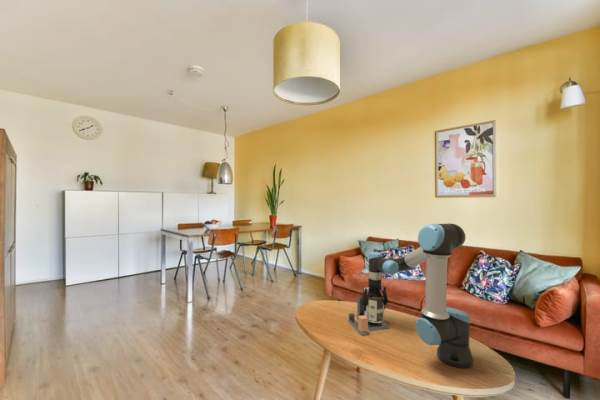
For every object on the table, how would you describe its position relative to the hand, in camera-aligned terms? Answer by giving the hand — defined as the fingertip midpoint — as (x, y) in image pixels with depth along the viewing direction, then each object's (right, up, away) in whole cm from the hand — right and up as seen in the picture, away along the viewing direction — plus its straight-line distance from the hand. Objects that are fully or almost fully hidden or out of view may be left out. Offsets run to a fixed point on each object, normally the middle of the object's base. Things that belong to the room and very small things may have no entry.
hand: (374, 315), depth 166 cm
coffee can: (0, -2, 0) cm, 2 cm away
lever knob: (-9, -4, -11) cm, 14 cm away
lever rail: (-11, -6, -5) cm, 13 cm away
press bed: (-1, -6, +2) cm, 6 cm away
